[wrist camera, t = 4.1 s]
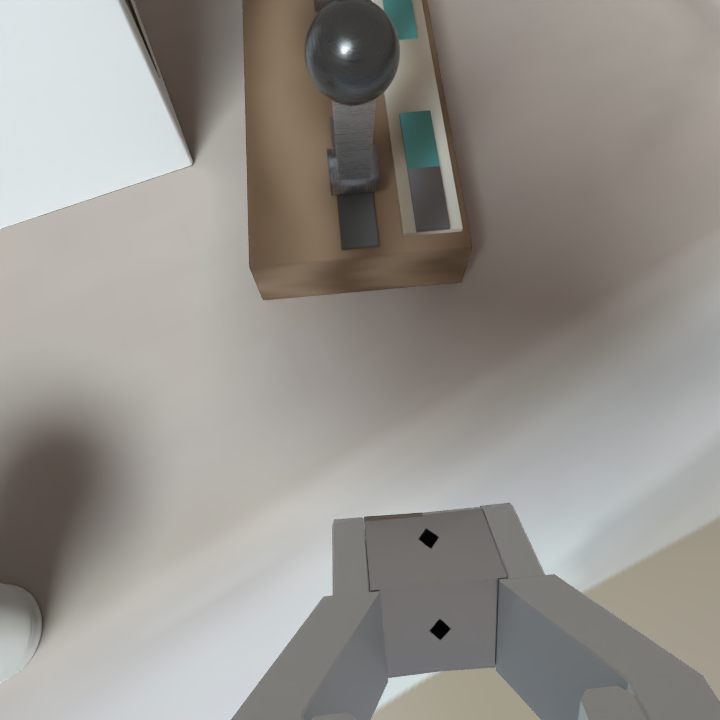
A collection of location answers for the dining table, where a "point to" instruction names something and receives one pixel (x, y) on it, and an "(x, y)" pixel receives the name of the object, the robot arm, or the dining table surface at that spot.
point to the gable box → (79, 105)
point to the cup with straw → (17, 629)
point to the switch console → (311, 177)
